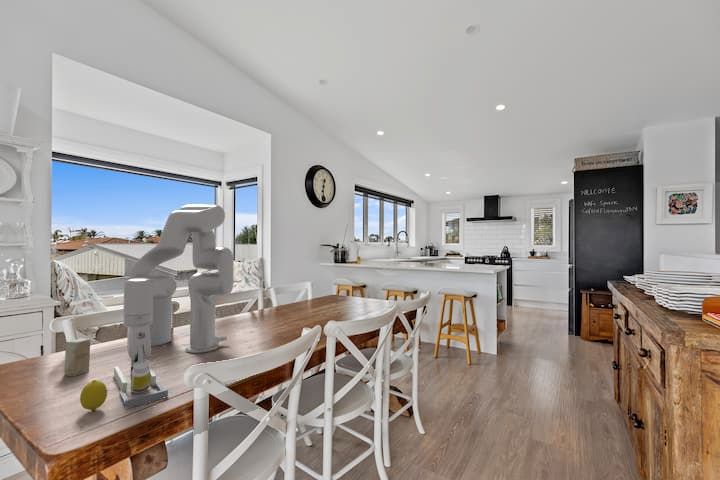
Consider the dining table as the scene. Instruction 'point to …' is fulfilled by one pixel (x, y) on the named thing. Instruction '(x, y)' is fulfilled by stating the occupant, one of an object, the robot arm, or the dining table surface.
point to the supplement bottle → (140, 377)
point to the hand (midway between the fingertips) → (137, 379)
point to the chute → (122, 381)
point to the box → (77, 356)
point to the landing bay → (144, 396)
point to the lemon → (93, 395)
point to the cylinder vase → (161, 321)
